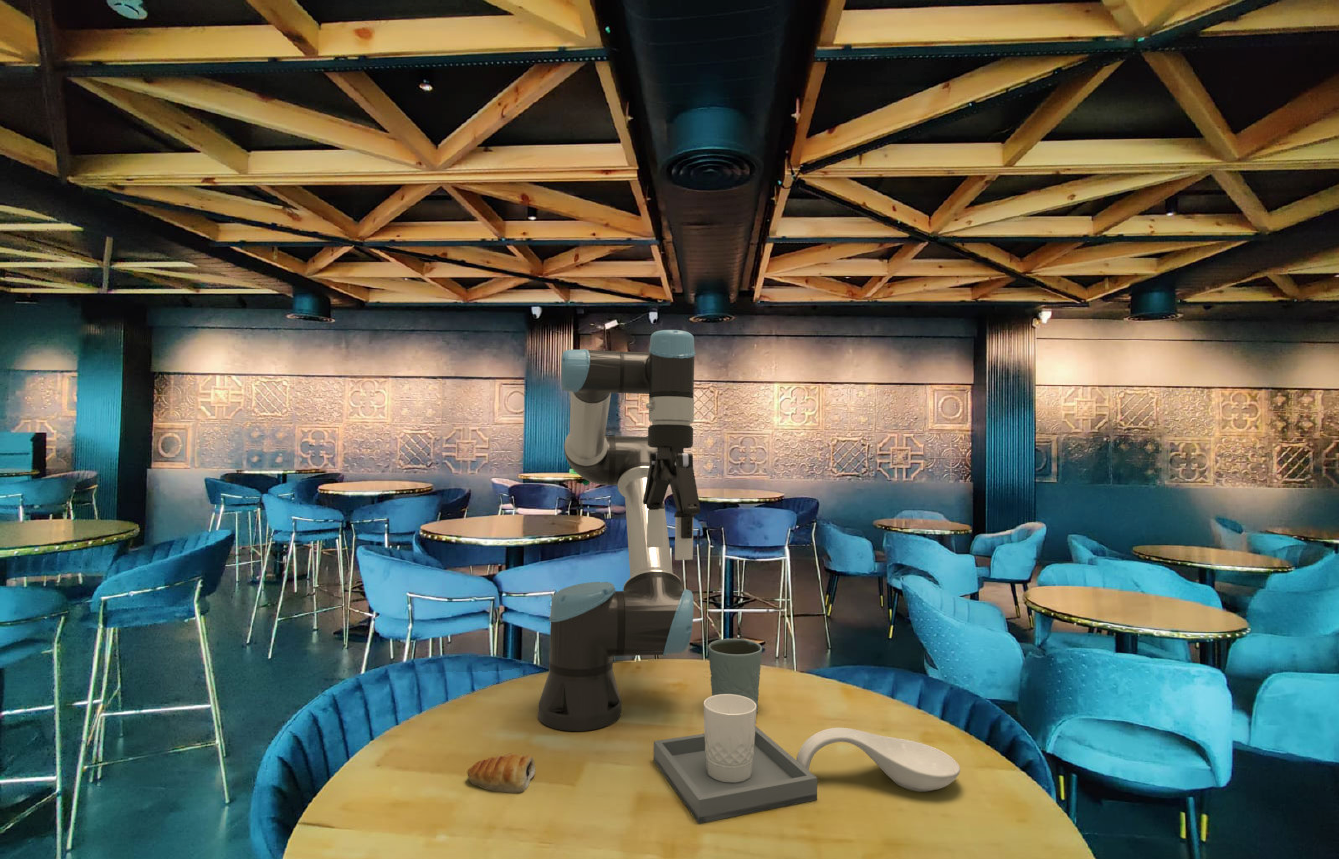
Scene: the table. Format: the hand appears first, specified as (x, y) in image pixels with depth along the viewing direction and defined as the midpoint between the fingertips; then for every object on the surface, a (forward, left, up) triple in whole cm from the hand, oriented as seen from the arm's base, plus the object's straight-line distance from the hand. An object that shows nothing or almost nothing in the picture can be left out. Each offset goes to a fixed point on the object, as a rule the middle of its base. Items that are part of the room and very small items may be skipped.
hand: (668, 553), depth 104 cm
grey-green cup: (-11, +18, -32) cm, 38 cm away
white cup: (+12, +6, -31) cm, 34 cm away
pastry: (+2, -26, -32) cm, 41 cm away
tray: (+12, +6, -32) cm, 34 cm away
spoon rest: (+19, +27, -32) cm, 46 cm away
